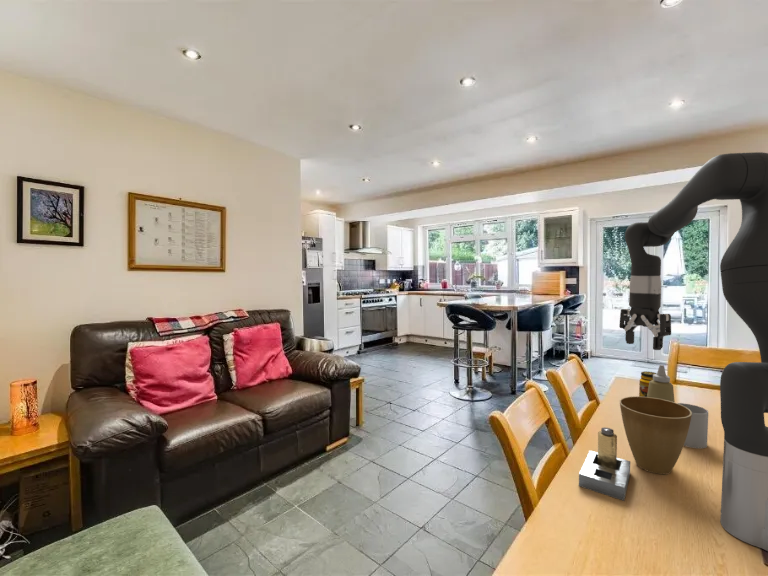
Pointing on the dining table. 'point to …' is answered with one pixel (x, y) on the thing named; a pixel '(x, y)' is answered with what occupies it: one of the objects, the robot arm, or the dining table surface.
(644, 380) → the condiment
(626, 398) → the plant pot
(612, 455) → the spice shaker
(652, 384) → the squeeze bottle
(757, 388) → the robot arm
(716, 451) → the dining table surface
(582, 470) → the steel socket block
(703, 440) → the cup
